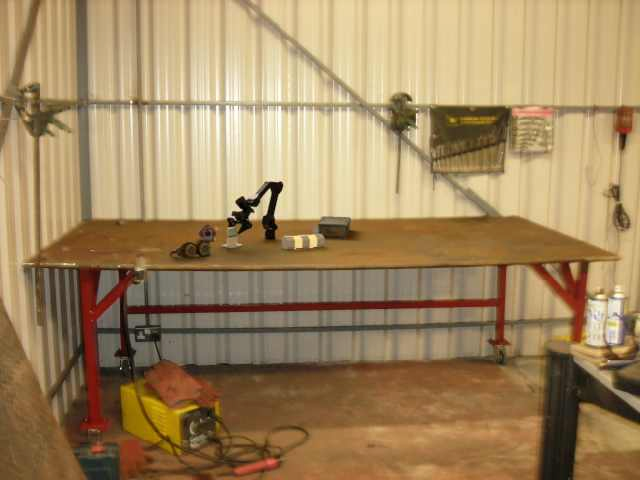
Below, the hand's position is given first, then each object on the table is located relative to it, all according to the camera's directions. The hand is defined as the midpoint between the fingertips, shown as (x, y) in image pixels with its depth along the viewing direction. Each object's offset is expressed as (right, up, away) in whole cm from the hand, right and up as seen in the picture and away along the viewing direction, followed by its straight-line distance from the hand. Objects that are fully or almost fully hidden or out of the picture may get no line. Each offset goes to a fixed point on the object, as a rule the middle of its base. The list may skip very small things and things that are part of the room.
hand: (232, 233), depth 415 cm
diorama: (+44, -9, +2) cm, 45 cm away
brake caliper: (-19, -5, +21) cm, 29 cm away
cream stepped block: (0, -8, +1) cm, 8 cm away
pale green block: (0, -2, 0) cm, 2 cm away
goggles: (-20, -13, -22) cm, 33 cm away
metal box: (+65, 0, +49) cm, 81 cm away
